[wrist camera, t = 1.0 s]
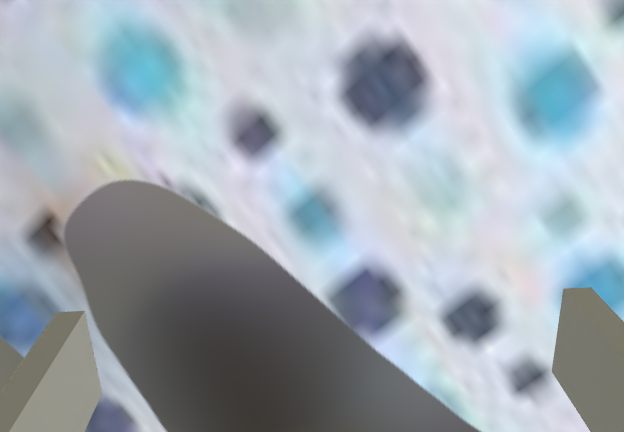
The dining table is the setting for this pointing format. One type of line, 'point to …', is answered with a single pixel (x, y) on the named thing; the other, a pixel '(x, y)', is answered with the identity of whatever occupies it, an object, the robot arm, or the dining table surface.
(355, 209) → the dining table surface
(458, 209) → the dining table surface
